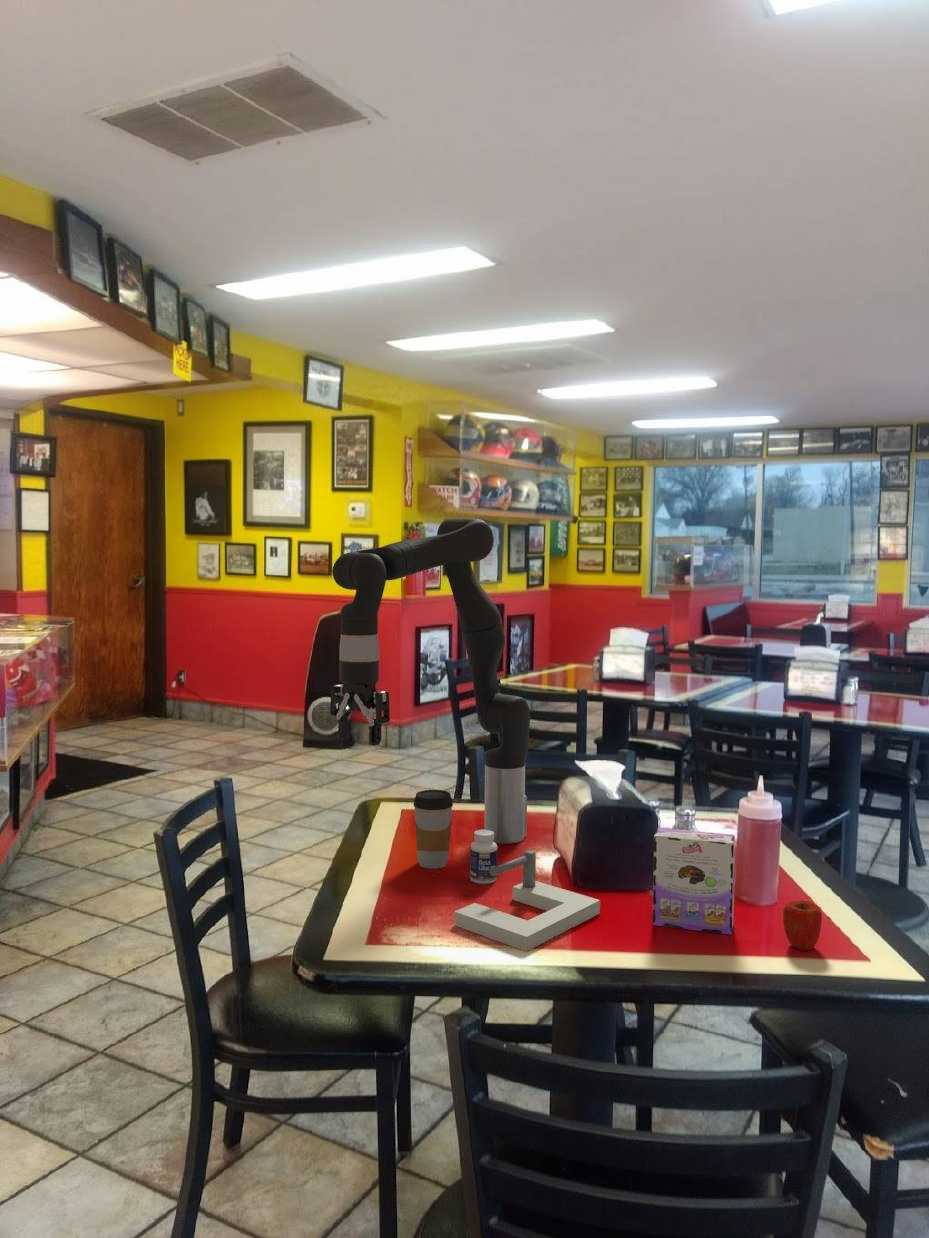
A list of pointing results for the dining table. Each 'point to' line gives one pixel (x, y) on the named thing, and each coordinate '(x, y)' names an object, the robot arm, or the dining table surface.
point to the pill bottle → (483, 857)
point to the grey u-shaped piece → (558, 903)
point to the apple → (802, 924)
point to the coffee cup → (433, 827)
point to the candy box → (694, 880)
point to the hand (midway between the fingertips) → (359, 741)
